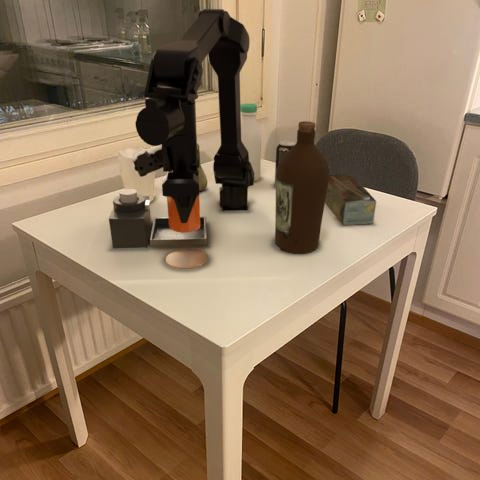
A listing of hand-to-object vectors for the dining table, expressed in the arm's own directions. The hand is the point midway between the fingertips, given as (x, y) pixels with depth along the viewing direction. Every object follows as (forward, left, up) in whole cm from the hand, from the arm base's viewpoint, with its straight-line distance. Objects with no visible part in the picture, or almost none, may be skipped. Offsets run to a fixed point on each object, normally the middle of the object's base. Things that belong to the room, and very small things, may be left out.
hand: (184, 216), depth 93 cm
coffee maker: (+12, -12, -10) cm, 19 cm away
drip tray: (+2, -12, -10) cm, 15 cm away
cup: (+13, -34, -10) cm, 38 cm away
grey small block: (+8, -12, -4) cm, 15 cm away
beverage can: (-26, -43, -10) cm, 52 cm away
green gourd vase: (-2, -41, -10) cm, 43 cm away
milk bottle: (-16, -50, -10) cm, 54 cm away
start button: (+12, -12, -1) cm, 17 cm away
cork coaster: (0, 0, -10) cm, 10 cm away
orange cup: (0, 0, -2) cm, 2 cm away
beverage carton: (-39, -25, -10) cm, 48 cm away
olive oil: (-23, -6, -10) cm, 26 cm away
